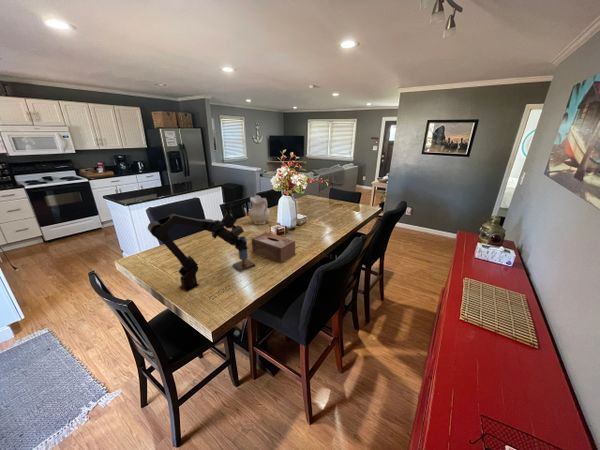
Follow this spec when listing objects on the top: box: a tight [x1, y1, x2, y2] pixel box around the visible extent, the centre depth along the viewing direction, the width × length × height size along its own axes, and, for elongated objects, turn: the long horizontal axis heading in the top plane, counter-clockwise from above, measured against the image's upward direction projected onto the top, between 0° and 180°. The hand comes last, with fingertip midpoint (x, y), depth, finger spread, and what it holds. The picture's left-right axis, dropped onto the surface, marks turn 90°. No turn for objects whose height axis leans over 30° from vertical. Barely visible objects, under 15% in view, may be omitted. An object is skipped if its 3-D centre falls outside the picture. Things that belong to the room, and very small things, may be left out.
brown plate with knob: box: [232, 258, 256, 272], centre depth 144 cm, size 10×9×4 cm
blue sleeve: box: [238, 236, 249, 261], centre depth 140 cm, size 5×5×13 cm
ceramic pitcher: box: [247, 194, 271, 225], centre depth 215 cm, size 22×20×25 cm
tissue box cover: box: [250, 231, 296, 264], centre depth 159 cm, size 26×14×10 cm, turn 54°
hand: (244, 247), depth 141 cm, fingers closed on blue sleeve, 5 cm apart
